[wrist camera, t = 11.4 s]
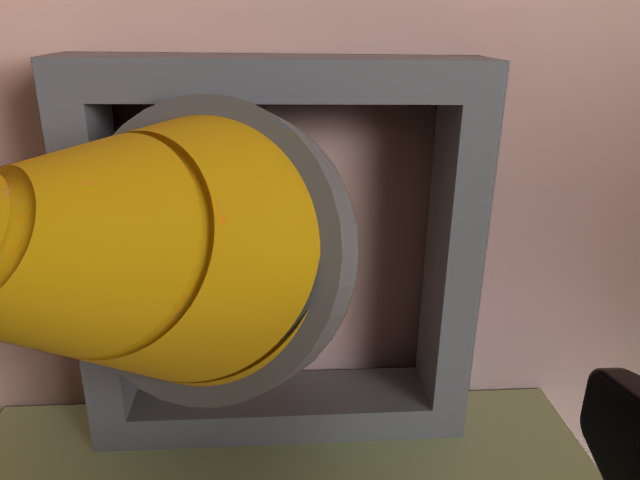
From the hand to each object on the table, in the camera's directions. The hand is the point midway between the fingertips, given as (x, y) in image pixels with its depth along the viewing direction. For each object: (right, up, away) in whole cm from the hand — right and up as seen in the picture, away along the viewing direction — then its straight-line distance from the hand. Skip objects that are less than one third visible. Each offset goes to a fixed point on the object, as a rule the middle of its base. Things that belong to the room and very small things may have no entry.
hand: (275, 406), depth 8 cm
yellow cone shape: (0, +2, +6) cm, 6 cm away
